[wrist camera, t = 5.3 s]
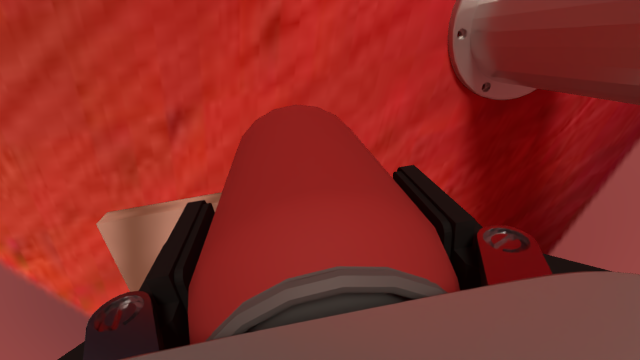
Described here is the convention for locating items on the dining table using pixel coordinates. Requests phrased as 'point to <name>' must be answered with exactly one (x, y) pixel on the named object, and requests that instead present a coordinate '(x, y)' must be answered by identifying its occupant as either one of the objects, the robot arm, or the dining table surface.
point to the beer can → (309, 232)
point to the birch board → (142, 235)
